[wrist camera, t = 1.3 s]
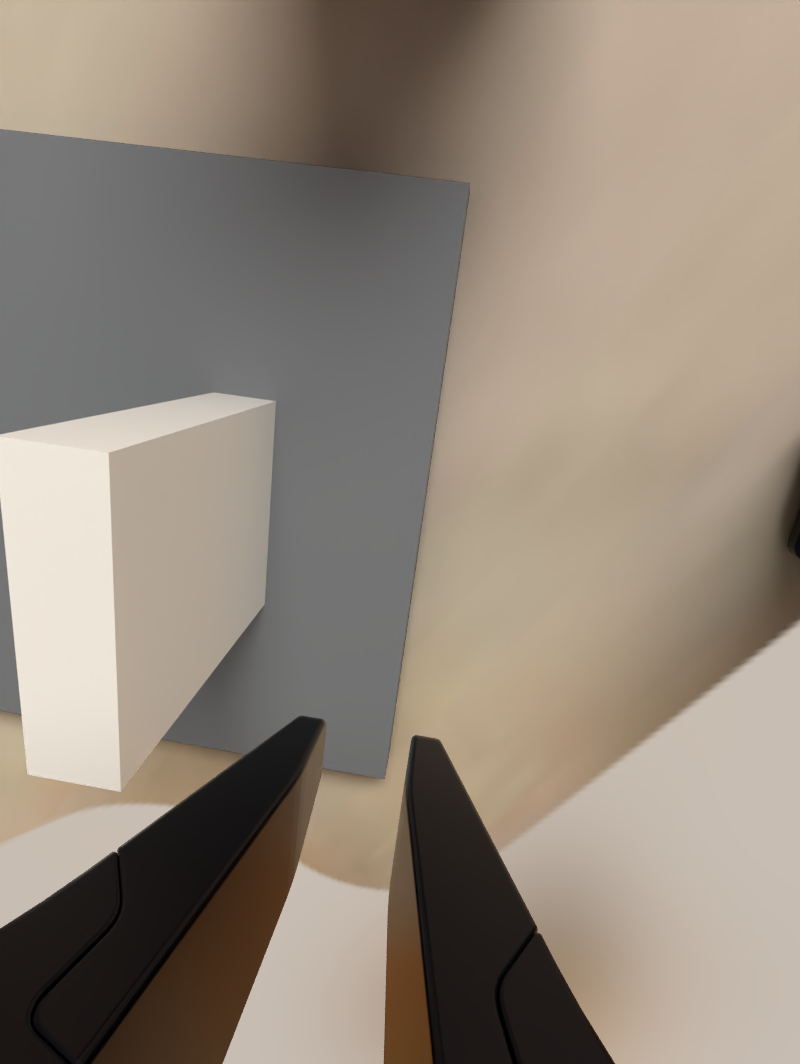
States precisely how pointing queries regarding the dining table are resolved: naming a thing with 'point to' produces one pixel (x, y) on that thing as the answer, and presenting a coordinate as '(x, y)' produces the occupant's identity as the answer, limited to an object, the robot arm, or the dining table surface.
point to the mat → (250, 386)
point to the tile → (130, 571)
